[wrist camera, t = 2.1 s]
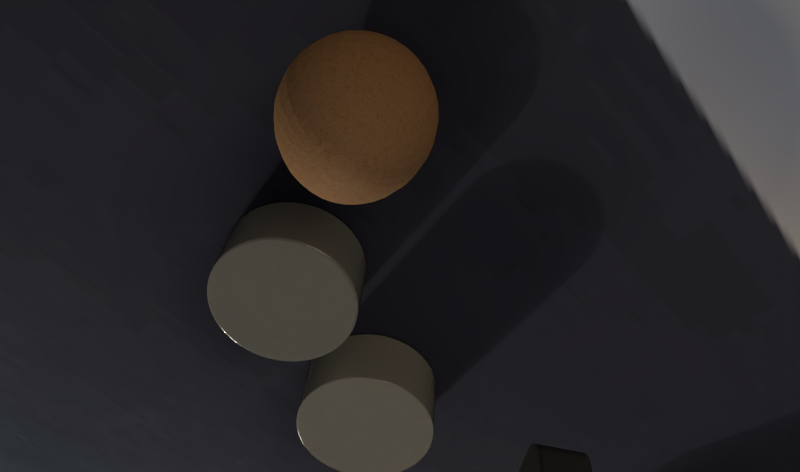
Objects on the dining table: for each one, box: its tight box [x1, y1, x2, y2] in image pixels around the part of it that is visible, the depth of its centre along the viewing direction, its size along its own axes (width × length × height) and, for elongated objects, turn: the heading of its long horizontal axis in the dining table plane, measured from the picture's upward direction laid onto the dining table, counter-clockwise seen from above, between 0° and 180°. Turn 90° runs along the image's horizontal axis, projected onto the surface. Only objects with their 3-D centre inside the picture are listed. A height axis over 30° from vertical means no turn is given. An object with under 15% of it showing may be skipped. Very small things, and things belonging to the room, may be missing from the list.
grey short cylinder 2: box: [296, 334, 436, 472], centre depth 28 cm, size 5×5×2 cm
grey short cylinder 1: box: [207, 202, 366, 361], centre depth 25 cm, size 5×5×2 cm
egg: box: [274, 30, 439, 205], centre depth 20 cm, size 4×4×6 cm
